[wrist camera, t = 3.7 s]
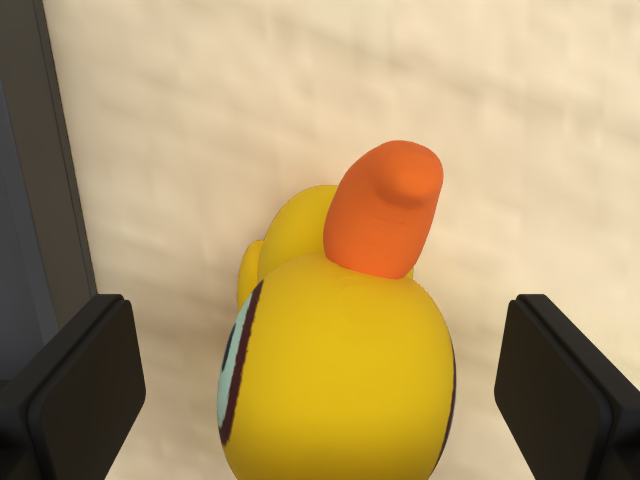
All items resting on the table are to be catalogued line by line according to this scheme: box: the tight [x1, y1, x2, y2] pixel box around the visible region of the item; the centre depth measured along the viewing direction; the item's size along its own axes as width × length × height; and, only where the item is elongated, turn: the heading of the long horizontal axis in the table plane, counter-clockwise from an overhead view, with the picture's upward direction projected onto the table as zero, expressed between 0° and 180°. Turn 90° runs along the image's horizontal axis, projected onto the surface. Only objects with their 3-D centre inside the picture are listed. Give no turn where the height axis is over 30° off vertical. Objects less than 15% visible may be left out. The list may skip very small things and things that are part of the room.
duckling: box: [217, 141, 456, 480], centre depth 12 cm, size 11×5×10 cm, turn 166°
